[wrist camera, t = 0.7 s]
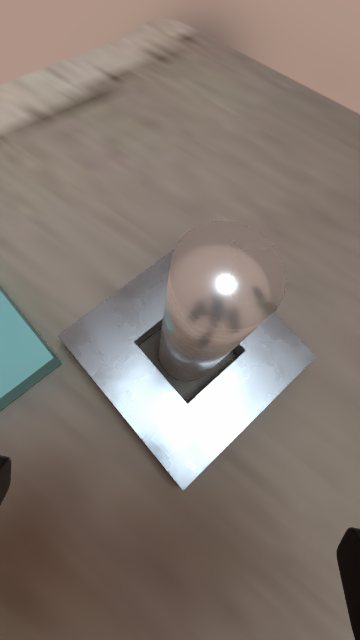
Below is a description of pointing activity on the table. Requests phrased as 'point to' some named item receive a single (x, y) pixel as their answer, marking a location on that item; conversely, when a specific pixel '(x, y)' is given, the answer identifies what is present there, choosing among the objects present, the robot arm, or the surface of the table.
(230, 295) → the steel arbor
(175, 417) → the socket block
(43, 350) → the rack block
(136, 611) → the table surface
